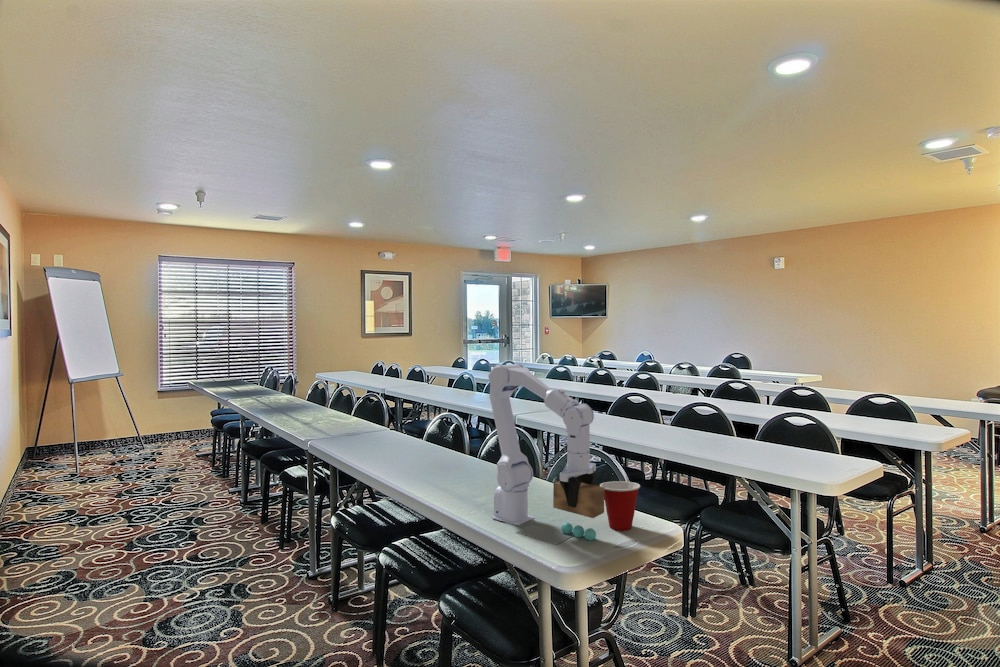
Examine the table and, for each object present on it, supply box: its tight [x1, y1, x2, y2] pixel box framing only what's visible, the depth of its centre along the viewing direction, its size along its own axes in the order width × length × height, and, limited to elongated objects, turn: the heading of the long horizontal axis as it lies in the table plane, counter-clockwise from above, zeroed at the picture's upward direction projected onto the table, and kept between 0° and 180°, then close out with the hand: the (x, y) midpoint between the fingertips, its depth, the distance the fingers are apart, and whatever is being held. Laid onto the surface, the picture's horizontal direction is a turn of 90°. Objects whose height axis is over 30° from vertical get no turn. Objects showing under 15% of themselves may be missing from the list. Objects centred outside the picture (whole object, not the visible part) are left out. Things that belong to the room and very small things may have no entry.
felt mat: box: [515, 524, 573, 546], centre depth 145 cm, size 13×7×1 cm, turn 50°
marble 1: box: [560, 521, 574, 535], centre depth 146 cm, size 3×3×3 cm
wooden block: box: [552, 480, 605, 519], centre depth 144 cm, size 12×6×6 cm, turn 50°
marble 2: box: [572, 525, 585, 538], centre depth 144 cm, size 3×3×3 cm
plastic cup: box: [599, 480, 641, 532], centre depth 151 cm, size 11×11×12 cm
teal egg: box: [583, 527, 597, 541], centre depth 142 cm, size 3×3×3 cm
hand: (578, 503), depth 144 cm, fingers closed on wooden block, 5 cm apart
